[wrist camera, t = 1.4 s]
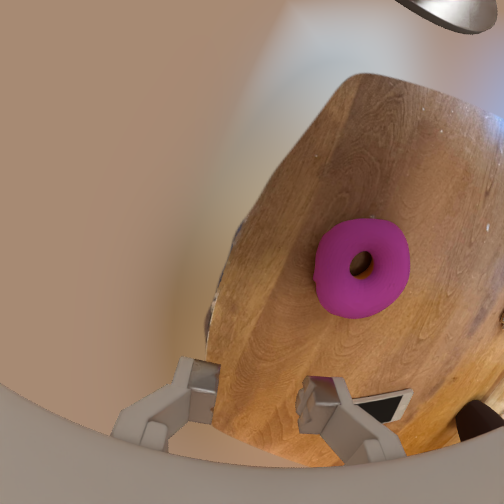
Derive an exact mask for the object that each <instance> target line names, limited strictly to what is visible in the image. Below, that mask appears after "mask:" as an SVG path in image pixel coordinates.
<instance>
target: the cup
mask: <svg viewBox="0 0 504 504" xmlns="http://www.w3.org/2000/svg"><path fill="white" fill-rule="evenodd" d="M456 425H457V430H458V434H459V437H460V441H461V442H463V441H466V440H469V439H472V438H474V437H477V436H480V435H482V434H485V433H487V432H490V431H492V430H495V429H497V428H499V427H502V426H504V419H503V418H502V417H501V416H500V415H498V414H497V413H496V412H495V411H494V410H492V409H491V408H490V407H488V406H487V405H486V404H484V403H482V402H481V401H479V400H473V401H471V402H469V403H468V404H467V405H466V406H465V407H464V408H463V409H462V410H461V411H460V412H459V414H458V415H457V417H456Z"/></svg>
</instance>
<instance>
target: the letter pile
mask: <svg viewBox="0 0 504 504" xmlns="http://www.w3.org/2000/svg"><path fill="white" fill-rule="evenodd" d="M499 322H501V323H504V313H503V315H502V317H501V319H500V321H499ZM502 328H503V329H504V324H503V326H502Z"/></svg>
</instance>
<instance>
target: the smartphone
mask: <svg viewBox="0 0 504 504" xmlns="http://www.w3.org/2000/svg"><path fill="white" fill-rule="evenodd" d="M413 393H414V392H413V390H412V389H407V390H402V391H398V392H393V393H388V394H382V395H377V396H371V397H365V398H359V399H352V401H353V403H354V405H358V406H359V407H361V408H362V409H363V410H364V411H366V412H367V413H368V414H370V415H371V416H372V417H374V418H375V419H376V420H377V421H379V422H380V423H381V424H383V423H388V422H392V421H396V420H399V419H401V417H402V415H403V413H404V411H405V409H406V407H407V405H408V403H409V401H410V399H411V397H412V395H413Z"/></svg>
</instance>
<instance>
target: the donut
mask: <svg viewBox="0 0 504 504" xmlns="http://www.w3.org/2000/svg"><path fill="white" fill-rule="evenodd" d="M362 251H368V252H369V253H370V254H371V256H372V262H371V264H370V266H369V267H368V269H367V270H365V271H364V272H363V273H361V274H359V275H357V276H352V275H351V273H350V270H349V267H350V263H351V261H352V259H353V258H354V257H355V256H356V255H357V254H358V253H360V252H362ZM409 273H410V255H409V248H408V244H407V241H406V238H405V236H404V234H403V233H402V231H401V230H400V229H399V227H398V226H396V225H395V224H394V223H392V222H390V221H386V220H381V219H353V220H349V221H344V222H341V223H339V224H337V225H335V226H334V227H333V228H332V229H331V230H330V231H328V232H327V233H325V234H324V235H323V236H322V238H321V240H320V243H319V246H318V249H317V252H316V258H315V271H314V276H313V280H314V281H315V282H316V292H317V296H318V299H319V301H320V303H321V305H322V306H323V308H325V309H326V310H327V311H328V312H330V313H331V314H333V315H337V316H341V317H344V318H349V319H358V318H365V317H369V316H371V315H374V314H376V313H378V312H380V311H382V310H384V309H385V308H387V307H388V306H389V305H390V304H392V303H393V302H394V301H395V300H396V299H397V298H398V297H399V295H400V294H401V293H402V291H403V290H404V288H405V286H406V284H407V281H408V278H409Z"/></svg>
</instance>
